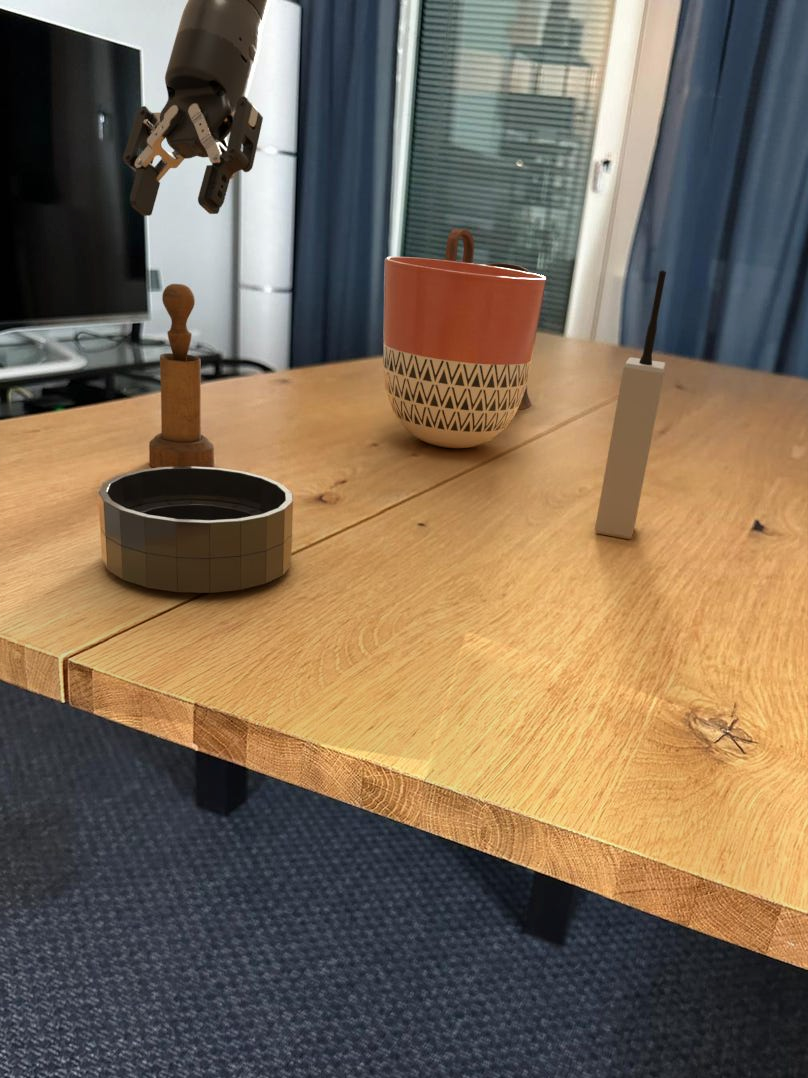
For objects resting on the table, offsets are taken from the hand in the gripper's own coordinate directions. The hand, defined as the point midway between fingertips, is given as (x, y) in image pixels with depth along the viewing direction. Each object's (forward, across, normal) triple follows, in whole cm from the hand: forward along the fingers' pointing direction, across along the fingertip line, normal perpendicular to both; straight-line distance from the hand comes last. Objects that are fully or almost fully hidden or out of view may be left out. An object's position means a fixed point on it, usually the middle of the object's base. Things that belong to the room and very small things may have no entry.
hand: (173, 210), depth 88 cm
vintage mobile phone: (+19, +41, +28) cm, 53 cm away
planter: (+7, +12, +41) cm, 44 cm away
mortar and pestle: (+22, -2, +12) cm, 25 cm away
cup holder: (-9, 0, +66) cm, 67 cm away
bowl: (+34, +18, -4) cm, 39 cm away
